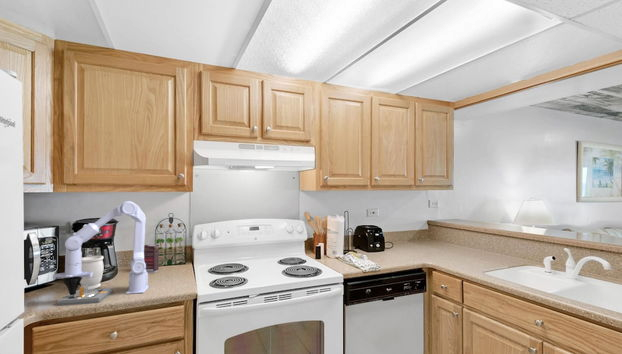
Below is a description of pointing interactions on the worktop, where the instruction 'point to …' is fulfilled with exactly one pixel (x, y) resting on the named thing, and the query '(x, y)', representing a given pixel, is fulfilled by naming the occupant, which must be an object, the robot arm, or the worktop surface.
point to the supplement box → (151, 258)
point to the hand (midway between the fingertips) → (72, 294)
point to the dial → (86, 292)
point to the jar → (94, 266)
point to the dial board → (96, 299)
